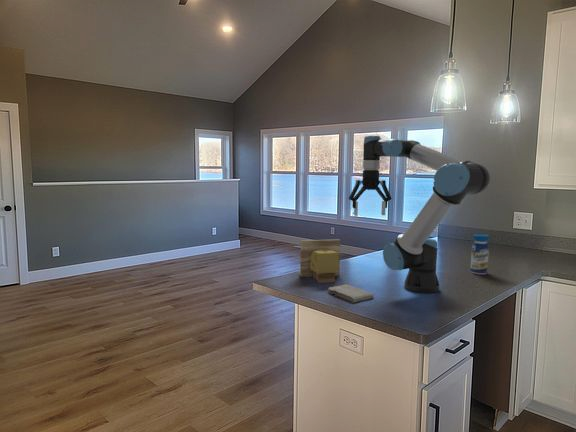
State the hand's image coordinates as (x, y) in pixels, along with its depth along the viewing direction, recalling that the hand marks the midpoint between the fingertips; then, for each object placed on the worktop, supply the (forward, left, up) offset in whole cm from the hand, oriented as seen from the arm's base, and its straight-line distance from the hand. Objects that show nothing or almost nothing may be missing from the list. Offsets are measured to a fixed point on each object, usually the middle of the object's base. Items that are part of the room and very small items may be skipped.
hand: (369, 215), depth 196 cm
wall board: (+8, +20, -32) cm, 38 cm away
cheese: (+6, +20, -28) cm, 35 cm away
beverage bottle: (+7, -64, -32) cm, 72 cm away
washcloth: (-20, +16, -32) cm, 41 cm away
